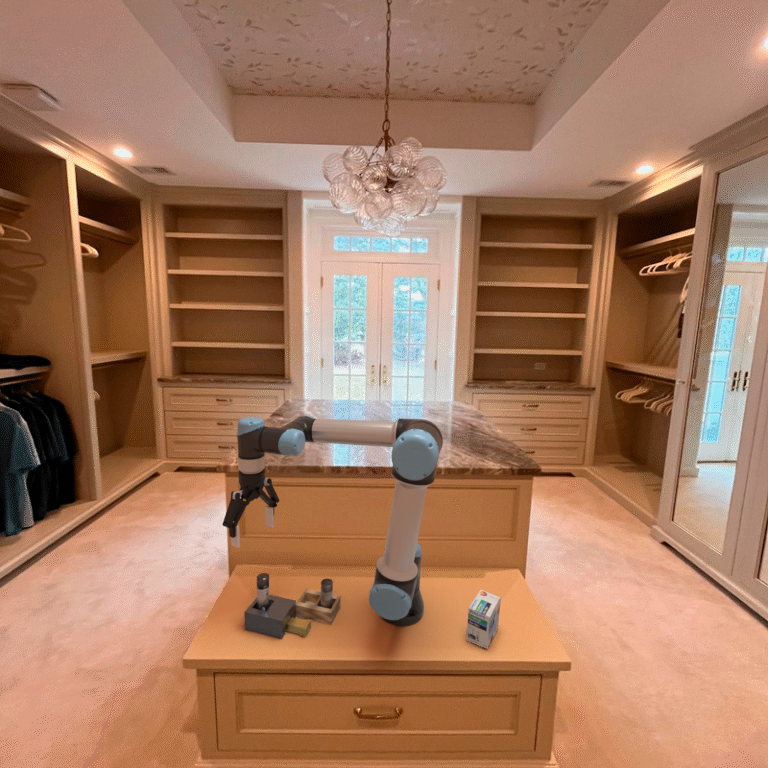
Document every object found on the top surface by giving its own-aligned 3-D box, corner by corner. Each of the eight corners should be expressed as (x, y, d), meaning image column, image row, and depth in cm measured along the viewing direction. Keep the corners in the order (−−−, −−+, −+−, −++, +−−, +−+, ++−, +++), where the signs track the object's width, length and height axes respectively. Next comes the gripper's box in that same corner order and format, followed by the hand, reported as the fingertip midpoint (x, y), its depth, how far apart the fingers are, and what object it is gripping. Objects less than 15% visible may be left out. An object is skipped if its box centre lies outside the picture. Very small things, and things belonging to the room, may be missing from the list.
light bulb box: (487, 651, 120) (490, 617, 118) (465, 640, 124) (467, 608, 122) (498, 628, 129) (501, 596, 127) (477, 619, 133) (480, 588, 131)
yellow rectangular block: (311, 627, 126) (311, 619, 125) (305, 637, 122) (305, 629, 122) (277, 619, 129) (277, 611, 128) (270, 628, 125) (270, 620, 124)
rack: (340, 607, 135) (341, 576, 133) (331, 624, 128) (332, 592, 126) (306, 599, 138) (306, 569, 136) (295, 616, 130) (295, 584, 129)
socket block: (295, 617, 130) (295, 600, 129) (281, 639, 121) (281, 620, 120) (260, 609, 133) (260, 592, 132) (244, 630, 124) (244, 611, 123)
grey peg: (271, 609, 128) (271, 574, 126) (265, 618, 125) (265, 581, 123) (261, 607, 129) (260, 572, 127) (254, 615, 126) (254, 579, 124)
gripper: (272, 455, 137) (273, 515, 141) (207, 480, 116) (210, 551, 119) (290, 459, 134) (290, 521, 137) (226, 486, 112) (228, 559, 116)
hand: (253, 535), depth 128 cm, fingers open, 13 cm apart
